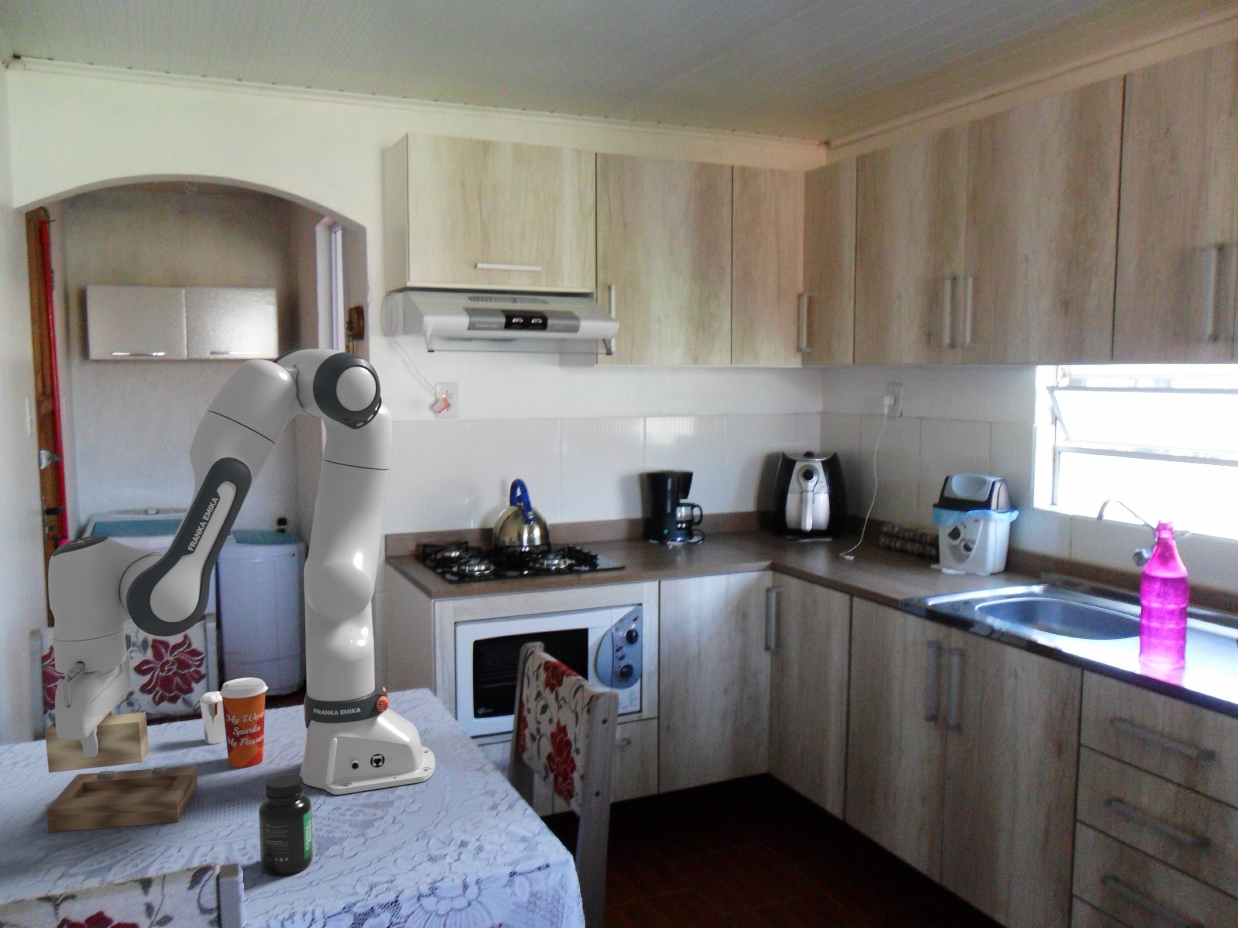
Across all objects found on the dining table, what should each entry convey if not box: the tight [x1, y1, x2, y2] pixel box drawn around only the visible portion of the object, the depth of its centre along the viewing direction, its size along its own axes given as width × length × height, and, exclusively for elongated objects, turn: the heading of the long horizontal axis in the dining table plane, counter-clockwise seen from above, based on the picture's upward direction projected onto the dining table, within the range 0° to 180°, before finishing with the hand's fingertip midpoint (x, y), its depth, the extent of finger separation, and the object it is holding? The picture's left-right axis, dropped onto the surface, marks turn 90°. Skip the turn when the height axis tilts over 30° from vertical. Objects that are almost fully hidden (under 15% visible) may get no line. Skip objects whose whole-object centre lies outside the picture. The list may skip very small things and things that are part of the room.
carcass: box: [46, 765, 199, 833], centre depth 153 cm, size 18×13×4 cm
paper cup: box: [219, 677, 269, 769], centre depth 171 cm, size 8×8×14 cm
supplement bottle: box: [258, 773, 314, 877], centre depth 135 cm, size 7×7×12 cm
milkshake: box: [199, 691, 226, 745], centre depth 181 cm, size 4×5×10 cm
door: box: [44, 711, 150, 774], centre depth 140 cm, size 12×4×6 cm, turn 103°
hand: (98, 747), depth 140 cm, fingers closed on door, 4 cm apart
